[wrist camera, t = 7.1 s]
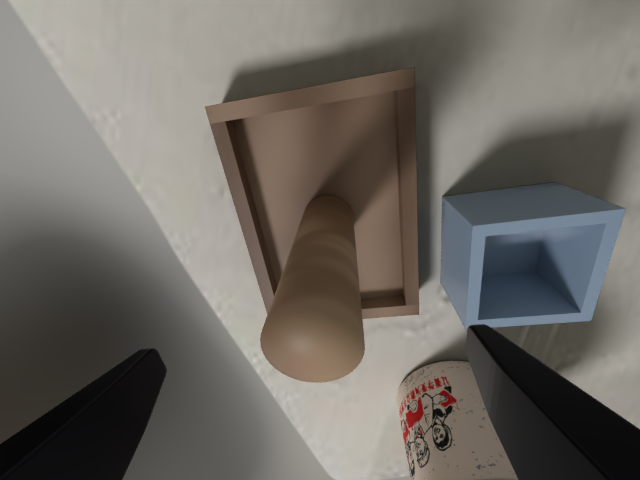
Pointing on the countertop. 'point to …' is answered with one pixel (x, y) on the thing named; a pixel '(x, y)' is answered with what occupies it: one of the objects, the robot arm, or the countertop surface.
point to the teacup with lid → (449, 426)
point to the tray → (329, 177)
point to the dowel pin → (318, 299)
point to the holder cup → (526, 254)
